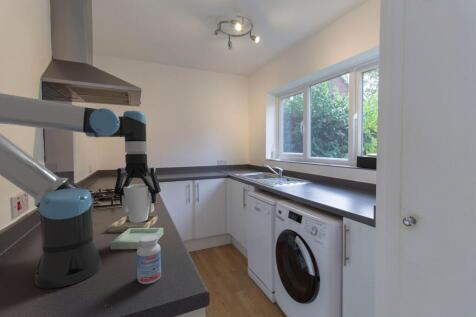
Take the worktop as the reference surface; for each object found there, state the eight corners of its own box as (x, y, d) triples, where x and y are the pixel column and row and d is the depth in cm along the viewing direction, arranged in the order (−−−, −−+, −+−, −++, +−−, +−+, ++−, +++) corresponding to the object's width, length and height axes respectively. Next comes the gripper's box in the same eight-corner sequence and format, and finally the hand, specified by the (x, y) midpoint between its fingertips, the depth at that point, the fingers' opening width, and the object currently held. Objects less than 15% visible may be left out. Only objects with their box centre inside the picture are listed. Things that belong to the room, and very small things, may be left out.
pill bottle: (141, 288, 58) (139, 244, 57) (134, 277, 62) (133, 237, 62) (164, 279, 61) (163, 238, 61) (157, 269, 66) (155, 232, 66)
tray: (150, 248, 80) (149, 241, 80) (110, 249, 80) (110, 242, 80) (163, 233, 94) (163, 227, 94) (129, 234, 94) (129, 228, 94)
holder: (144, 231, 96) (144, 226, 96) (108, 232, 96) (108, 226, 96) (158, 220, 112) (157, 215, 112) (126, 220, 112) (126, 215, 112)
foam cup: (119, 221, 85) (118, 187, 84) (140, 214, 93) (139, 183, 92) (136, 225, 80) (135, 189, 80) (157, 217, 88) (156, 184, 88)
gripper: (168, 152, 89) (170, 208, 90) (112, 153, 89) (115, 209, 90) (162, 153, 81) (164, 214, 83) (100, 153, 82) (103, 215, 83)
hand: (138, 211), depth 86 cm, fingers closed on foam cup, 9 cm apart
